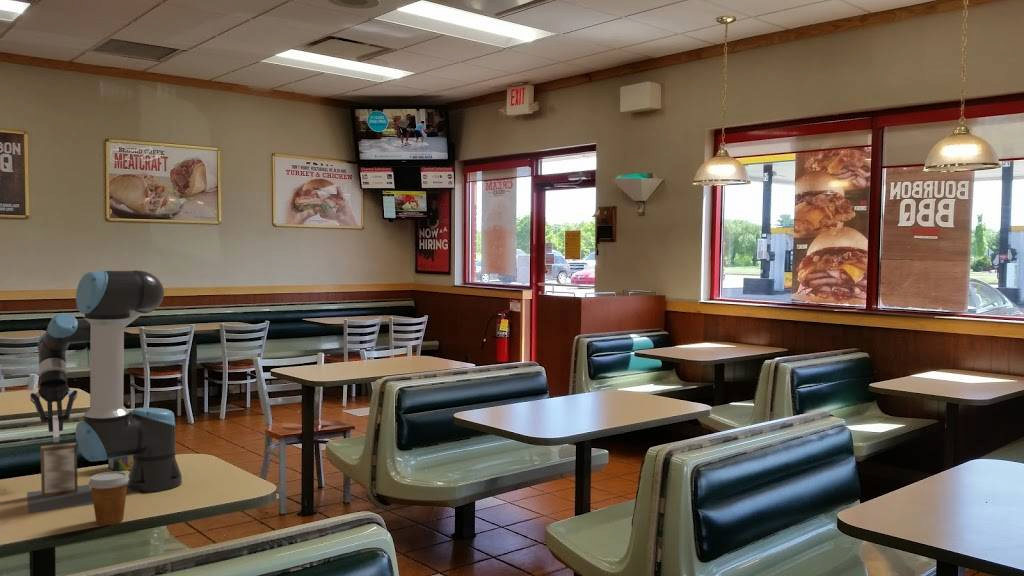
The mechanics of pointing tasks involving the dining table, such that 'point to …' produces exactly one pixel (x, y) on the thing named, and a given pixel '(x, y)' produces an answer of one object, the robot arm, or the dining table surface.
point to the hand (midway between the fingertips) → (56, 439)
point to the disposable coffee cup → (109, 496)
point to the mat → (59, 500)
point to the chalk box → (121, 463)
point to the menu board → (59, 469)
